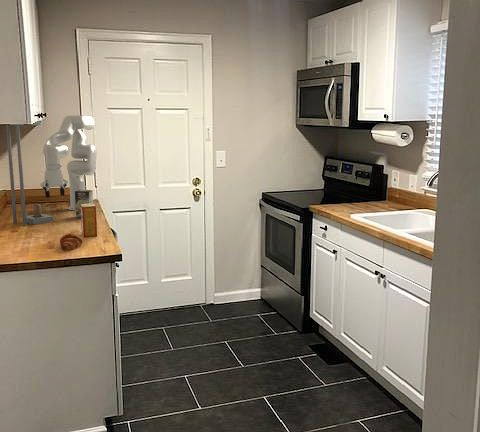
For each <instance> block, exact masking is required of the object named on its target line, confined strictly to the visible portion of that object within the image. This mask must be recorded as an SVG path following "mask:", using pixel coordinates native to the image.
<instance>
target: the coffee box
mask: <svg viewBox="0 0 480 432" xmlns="http://www.w3.org/2000/svg"><path fill="white" fill-rule="evenodd" d="M93 191H94V190H92V189H91V190H90V189H85V190H77V191H75V209H76V210H75V218H80V219H81V208H80V204H90V203H94V199H93V198H94V197H93Z"/></svg>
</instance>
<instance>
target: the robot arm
mask: <svg viewBox="0 0 480 432" xmlns="http://www.w3.org/2000/svg"><path fill="white" fill-rule="evenodd" d="M94 127H95V120H94V118H93V117H92V116H90V115H89V116H88V115H74V114H73V115H65V117H64V118H63V120H62V122H61V125H60V127H59V129H58V131H56V132H55V133H53V134H51V135H50V136H49V137H48V138H47V139H46V141H45V142H44V145H43V149H42V153H43V156H44V157H45V165H46V169H45V170H44V180H43V182H41V183H40V186H41V189H43V190H44V196H45V198H49V199H50V198H51V195H50V193H51V192H50V189H51V188H55V187H56V188H58V187H59V188H60V189H59V195H60V196H65V189H66V188H67V185H68V180H69V196H70V197H69V198H70V201H69V202H70V206H68V210H69V211H76V209H75V191H77V190H86V182H85V179H84V178H83V177H82V176H93V175H94V174H95V172H96V167H97V166H96V163H97V155H98V154H97V153H98V152H97V148H96V146H95V145H93V144H86V143H87V136H86V135H85V134H84V132H83V131H82V130H87V131H88V130H93V129H94ZM70 140H72V141H71V151H69V148H68V146H66V145H64V144H63V143H65V142H68V141H70ZM69 152H70V156H71V158H73V159H75V160H70V161H69V162H67V165H66V170H67V174H68V180H66V179H64V176H63V172H62V171H63V170H62V169H61V168H62V167H63V166H62V164H61V160H60V158H61V159H62V158H63V159H64V158H66V157H67V156H68V155H69Z"/></svg>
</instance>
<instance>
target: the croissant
mask: <svg viewBox="0 0 480 432" xmlns="http://www.w3.org/2000/svg"><path fill="white" fill-rule="evenodd" d="M82 244H83V238H81V236H80V235H78V234H75V233H71V232H70V233H65V234H63V235H62V236H61V237H60V239H59V245H60V248H61V249H62V250H64V251H70V249H72V250H74V249H77V248H79V247H80V246H81V245H82Z"/></svg>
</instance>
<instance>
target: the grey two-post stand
mask: <svg viewBox="0 0 480 432" xmlns="http://www.w3.org/2000/svg"><path fill="white" fill-rule="evenodd" d="M36 121H37V122H36V123H34V124H31V125H30V126H36V125H37V126H39V125H41V120H36ZM5 126H6V127H5V129H6V139H7V153H8V155H7V157H8V165H9V168H8V169H9V179H10V181H9V183H10V195H11V196H10V197H11V208H12V220H13V224H14V223H17V224H18V220H17V219H18V217H17V206H16V205H17V204H16V193H15V190H16V189H15V179H14V178H15V177H14V166H13V165H14V164H13V151H12V150H13V149H12V139H11V138H12V137H11V126H15V134H16V145H17V146H16V147H17V159H18V162H17V164H18V176H19V177H18V178H19V188H20V189H19V191H20V205H21V218H22V219H21V220H22V226H23V227H26V226H27V223H26V216H27V214H26V201H25V199H26V198H25V184H24V172H23V170H24V169H23V157H22V145H21V144H22V143H21V131H20V126H25V125H24V124H10V125H5Z"/></svg>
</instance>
